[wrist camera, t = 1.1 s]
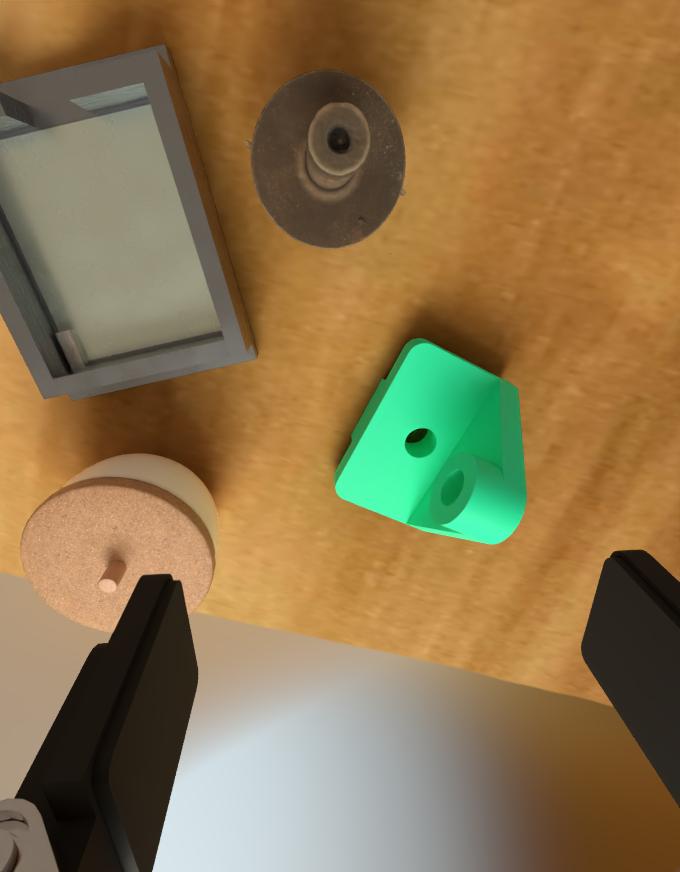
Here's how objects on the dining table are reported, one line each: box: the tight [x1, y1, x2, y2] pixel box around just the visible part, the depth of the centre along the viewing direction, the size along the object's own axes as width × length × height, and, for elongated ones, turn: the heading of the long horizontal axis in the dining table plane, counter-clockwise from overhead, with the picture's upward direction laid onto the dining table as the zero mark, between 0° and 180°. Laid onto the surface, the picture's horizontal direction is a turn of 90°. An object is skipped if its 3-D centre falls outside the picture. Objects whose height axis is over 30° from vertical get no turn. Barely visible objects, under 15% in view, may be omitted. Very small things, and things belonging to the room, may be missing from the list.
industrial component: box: [246, 70, 406, 254], centre depth 21 cm, size 9×7×12 cm
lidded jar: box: [20, 453, 219, 632], centre depth 29 cm, size 11×11×9 cm
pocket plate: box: [0, 44, 258, 401], centre depth 25 cm, size 12×16×4 cm
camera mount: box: [334, 338, 527, 544], centre depth 28 cm, size 12×8×10 cm, turn 153°
